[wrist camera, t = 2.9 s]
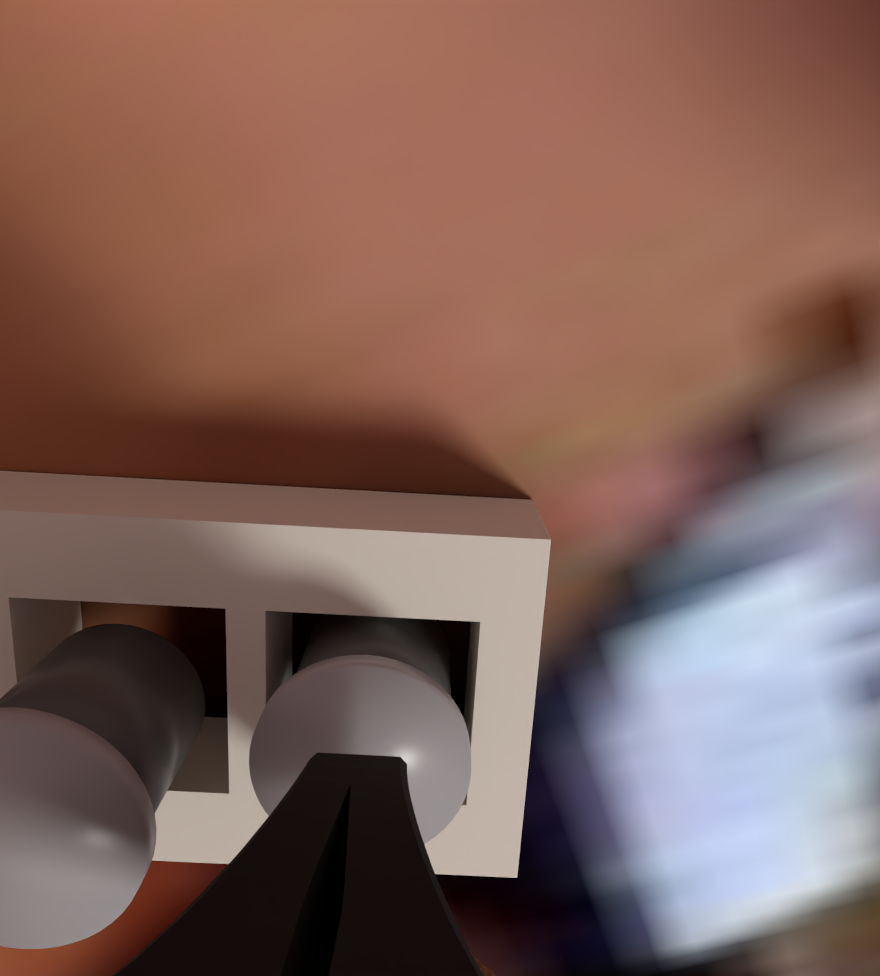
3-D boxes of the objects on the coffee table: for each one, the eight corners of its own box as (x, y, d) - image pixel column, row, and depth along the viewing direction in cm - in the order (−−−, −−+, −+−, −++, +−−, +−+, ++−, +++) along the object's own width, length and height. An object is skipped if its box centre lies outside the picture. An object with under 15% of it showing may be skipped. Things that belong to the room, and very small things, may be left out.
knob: (470, 584, 15) (479, 673, 11) (459, 739, 16) (463, 864, 12) (292, 574, 15) (247, 660, 11) (292, 730, 16) (249, 855, 12)
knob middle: (220, 613, 13) (138, 731, 10) (223, 788, 14) (151, 953, 10) (14, 602, 13) (-142, 717, 9) (32, 779, 14) (-104, 942, 10)
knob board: (533, 499, 15) (551, 539, 13) (506, 793, 17) (517, 877, 14) (-209, 459, 15) (-336, 492, 12) (-156, 761, 17) (-257, 840, 14)
